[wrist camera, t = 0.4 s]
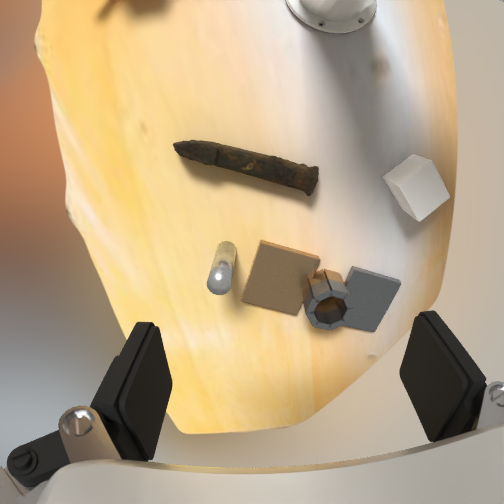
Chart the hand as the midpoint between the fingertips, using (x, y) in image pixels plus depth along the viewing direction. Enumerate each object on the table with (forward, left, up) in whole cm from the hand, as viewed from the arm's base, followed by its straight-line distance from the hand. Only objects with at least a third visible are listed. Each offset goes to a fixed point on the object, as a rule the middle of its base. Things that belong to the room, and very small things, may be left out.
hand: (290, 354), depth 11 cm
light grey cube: (-6, +20, -34) cm, 40 cm away
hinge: (+14, +14, -34) cm, 39 cm away
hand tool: (-1, -3, -34) cm, 35 cm away
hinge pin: (+12, -2, -34) cm, 36 cm away
